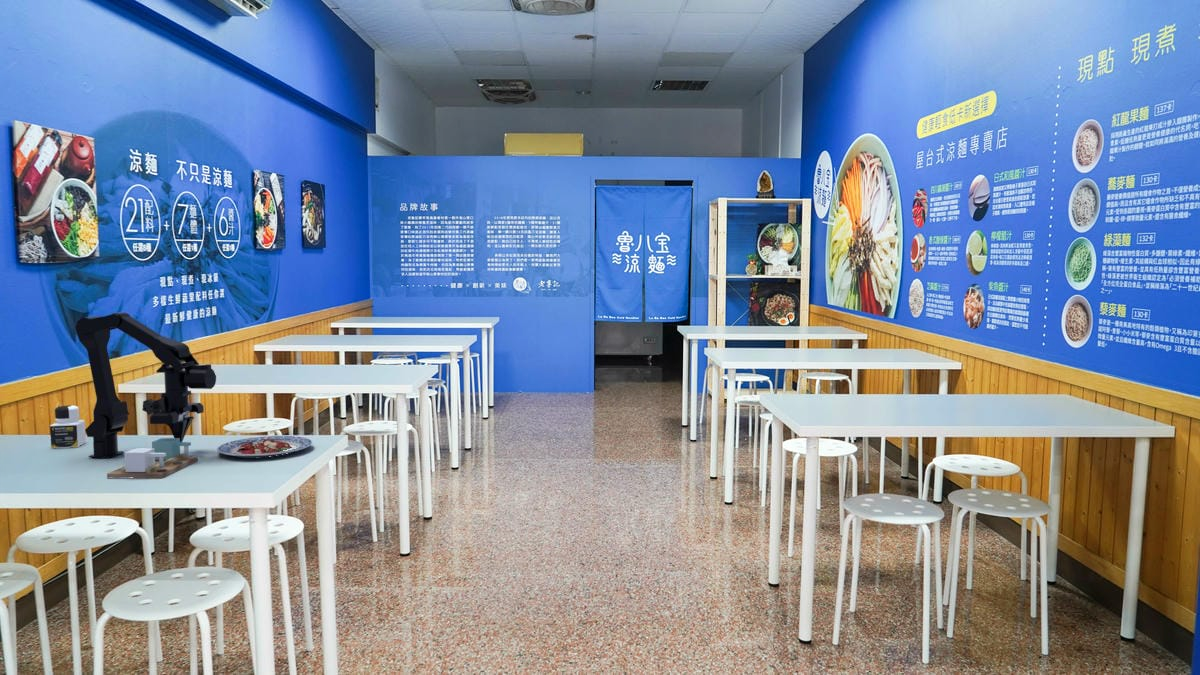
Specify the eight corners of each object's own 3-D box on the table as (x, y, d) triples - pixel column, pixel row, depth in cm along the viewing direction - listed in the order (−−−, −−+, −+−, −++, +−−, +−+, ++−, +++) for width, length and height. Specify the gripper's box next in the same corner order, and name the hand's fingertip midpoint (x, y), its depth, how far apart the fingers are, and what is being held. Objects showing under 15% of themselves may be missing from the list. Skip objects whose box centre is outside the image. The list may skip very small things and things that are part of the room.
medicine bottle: (50, 448, 251) (48, 408, 250) (60, 443, 258) (57, 404, 257) (77, 447, 253) (75, 407, 252) (86, 442, 260) (84, 403, 258)
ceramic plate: (201, 453, 246) (200, 443, 246) (284, 439, 266) (284, 429, 265) (243, 467, 229) (243, 456, 229) (329, 451, 249) (329, 441, 249)
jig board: (147, 460, 236) (147, 452, 236) (197, 460, 236) (197, 453, 236) (107, 478, 217) (106, 469, 217) (161, 478, 217) (161, 469, 217)
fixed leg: (136, 467, 222) (135, 448, 222) (170, 467, 222) (169, 448, 222) (125, 472, 217) (124, 452, 217) (160, 472, 217) (159, 452, 217)
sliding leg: (162, 455, 235) (161, 438, 235) (194, 456, 235) (194, 438, 235) (152, 460, 230) (151, 441, 230) (185, 460, 230) (185, 441, 230)
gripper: (165, 383, 247) (167, 436, 249) (129, 393, 229) (132, 450, 230) (203, 383, 247) (205, 436, 249) (170, 393, 229) (173, 450, 230)
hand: (179, 443), depth 239 cm, fingers closed
